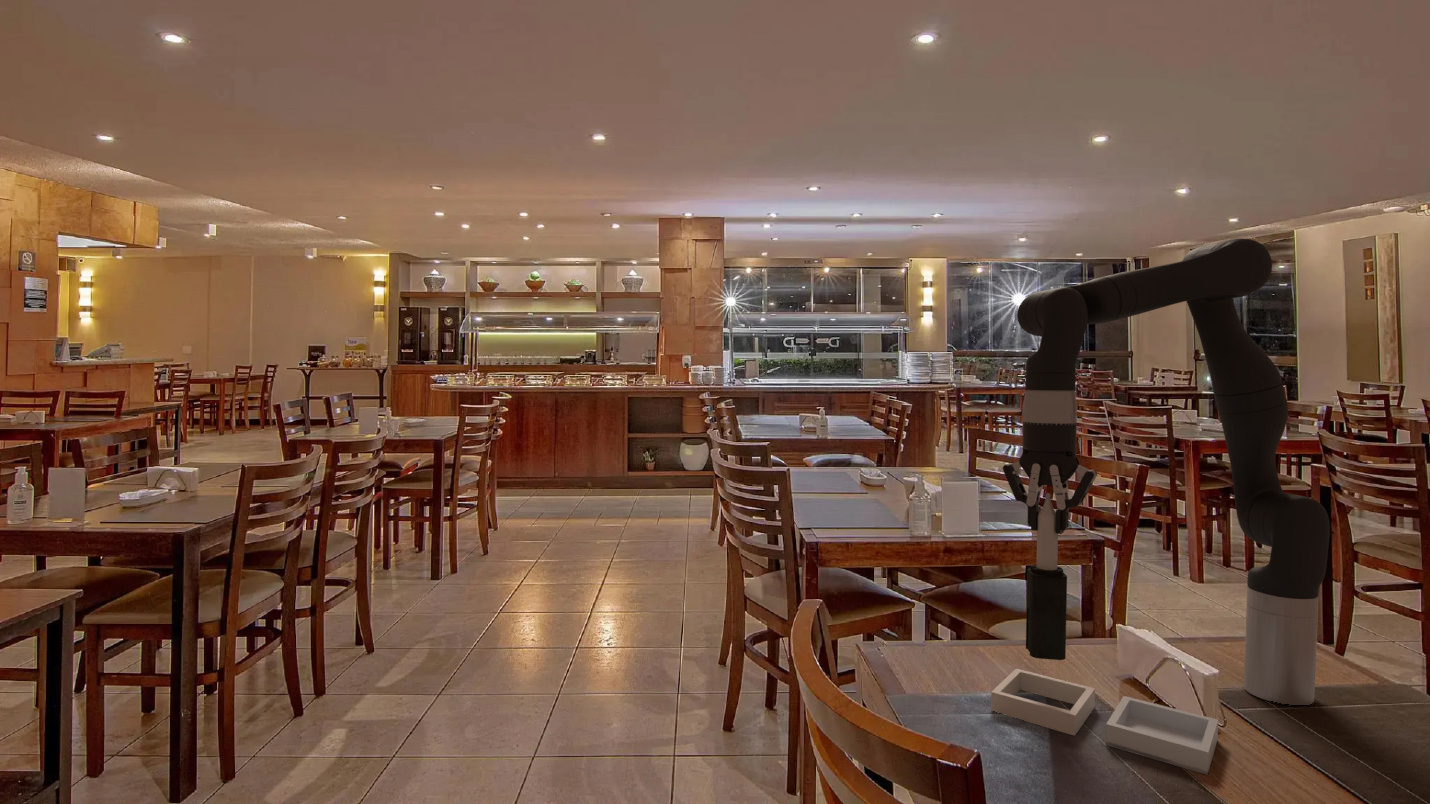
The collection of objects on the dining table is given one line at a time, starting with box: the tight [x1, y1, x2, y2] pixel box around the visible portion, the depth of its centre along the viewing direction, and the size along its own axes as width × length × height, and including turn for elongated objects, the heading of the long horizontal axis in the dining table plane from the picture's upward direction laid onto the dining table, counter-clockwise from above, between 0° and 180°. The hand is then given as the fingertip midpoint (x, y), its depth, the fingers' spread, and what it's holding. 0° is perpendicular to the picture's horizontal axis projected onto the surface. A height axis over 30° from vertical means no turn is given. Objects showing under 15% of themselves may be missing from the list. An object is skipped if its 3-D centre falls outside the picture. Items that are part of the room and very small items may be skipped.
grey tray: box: [1105, 695, 1219, 776], centre depth 104 cm, size 12×12×3 cm
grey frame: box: [990, 668, 1096, 736], centre depth 114 cm, size 12×12×3 cm
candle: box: [1025, 492, 1068, 661], centre depth 114 cm, size 5×5×25 cm
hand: (1047, 530), depth 113 cm, fingers closed on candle, 3 cm apart
